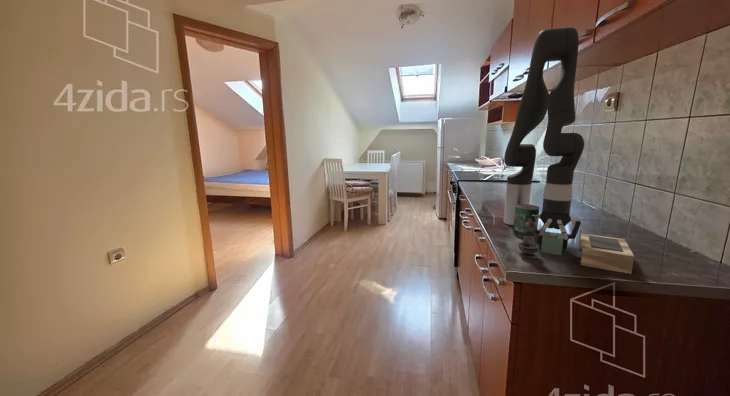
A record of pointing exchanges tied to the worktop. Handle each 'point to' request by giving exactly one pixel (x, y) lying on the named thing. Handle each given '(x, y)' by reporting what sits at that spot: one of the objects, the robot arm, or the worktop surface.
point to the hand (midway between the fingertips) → (551, 247)
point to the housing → (552, 243)
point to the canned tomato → (523, 218)
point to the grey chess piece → (528, 242)
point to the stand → (606, 253)
